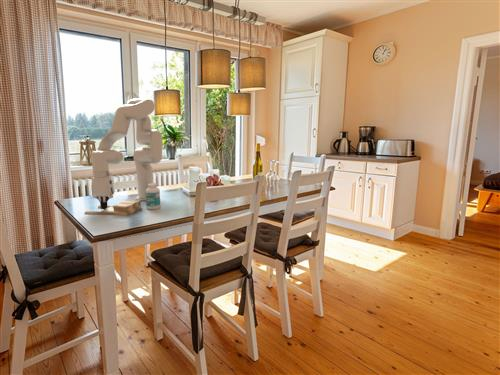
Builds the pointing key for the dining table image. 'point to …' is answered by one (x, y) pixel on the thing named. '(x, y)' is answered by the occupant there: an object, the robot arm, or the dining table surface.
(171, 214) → the dining table surface
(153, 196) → the pill bottle
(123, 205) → the overhang cubby
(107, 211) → the cover
